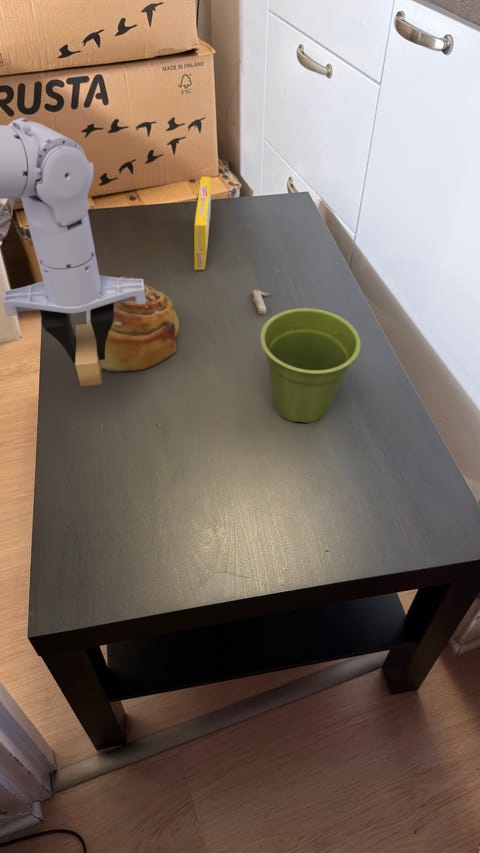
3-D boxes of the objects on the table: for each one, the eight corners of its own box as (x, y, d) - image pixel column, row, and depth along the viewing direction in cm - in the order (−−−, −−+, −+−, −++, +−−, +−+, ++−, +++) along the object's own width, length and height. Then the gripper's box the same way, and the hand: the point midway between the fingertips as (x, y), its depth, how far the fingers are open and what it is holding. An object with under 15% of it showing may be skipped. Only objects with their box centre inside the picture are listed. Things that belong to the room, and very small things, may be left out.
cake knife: (101, 384, 71) (97, 362, 69) (80, 386, 71) (75, 364, 69) (99, 286, 84) (95, 265, 81) (81, 288, 84) (77, 266, 81)
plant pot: (327, 451, 77) (340, 385, 68) (241, 418, 80) (243, 352, 72) (359, 390, 84) (374, 324, 75) (279, 363, 87) (285, 297, 79)
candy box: (207, 271, 102) (205, 225, 96) (194, 271, 102) (191, 225, 96) (212, 219, 113) (211, 175, 107) (200, 219, 113) (198, 175, 107)
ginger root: (277, 311, 94) (258, 310, 93) (276, 315, 95) (257, 315, 94) (268, 288, 98) (250, 288, 97) (267, 293, 99) (249, 292, 98)
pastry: (177, 302, 96) (174, 257, 90) (183, 368, 86) (179, 322, 80) (90, 308, 95) (81, 262, 89) (86, 375, 85) (75, 329, 79)
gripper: (136, 226, 66) (149, 327, 76) (-6, 237, 64) (27, 339, 74) (140, 264, 61) (153, 366, 71) (-13, 277, 59) (23, 380, 69)
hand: (89, 355), depth 72 cm, fingers closed on cake knife, 2 cm apart
